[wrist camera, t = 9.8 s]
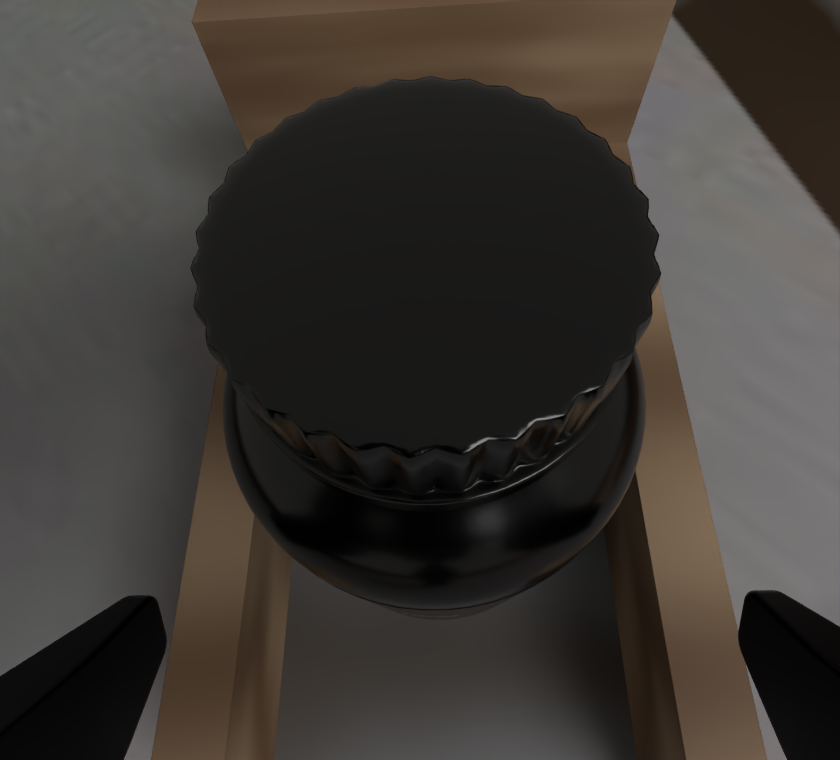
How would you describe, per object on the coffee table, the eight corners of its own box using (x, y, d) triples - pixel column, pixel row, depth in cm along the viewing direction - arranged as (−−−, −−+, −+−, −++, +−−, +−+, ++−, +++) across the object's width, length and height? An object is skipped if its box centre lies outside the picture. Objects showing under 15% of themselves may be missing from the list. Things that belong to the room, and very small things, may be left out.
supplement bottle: (358, 657, 15) (74, 722, 4) (306, 429, 18) (61, 94, 7) (596, 577, 15) (951, 429, 4) (508, 367, 18) (585, -38, 7)
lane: (701, 814, 13) (1045, 1068, 6) (218, 808, 14) (-84, 1028, 6) (591, 199, 22) (667, -47, 14) (291, 213, 22) (201, -14, 14)
